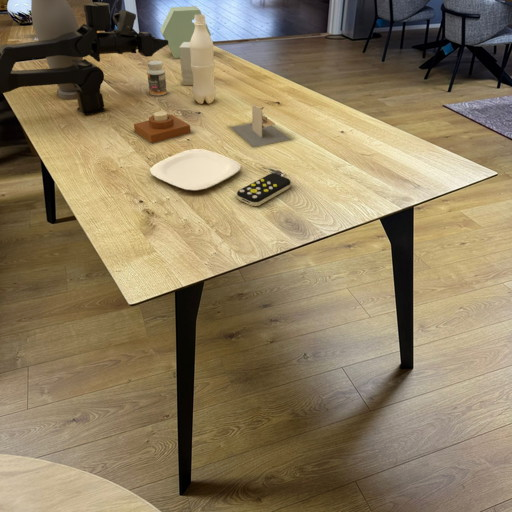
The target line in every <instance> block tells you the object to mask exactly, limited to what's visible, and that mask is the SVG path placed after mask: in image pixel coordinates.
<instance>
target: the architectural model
mask: <svg viewBox="0 0 512 512" xmlns="http://www.w3.org/2000/svg"><path fill="white" fill-rule="evenodd" d="M251 105H252V107H251V108H252V109H251V110H252V114H251V115H252V119H251V120H252V121H251V123H245V124H240V125H235V126H230V129H231V130H233V132H235V133H236V134H238V136H240V137H241V138H242V139H243V140H245V142H247V143H248V144H249V145H251V146H252V147H253V148H257V147H260V146H261V147H262V146H265V145H270V144H276V143H280V142H285V141H289V140H291V138H290V137H289V136H288V135H286V134H284V133H283V132H282V131H280V130H279V129H278V128H276V127H275V126H276V123H275V122H274V121H272V120H270V119H269V118H268V116H266V115H265V114H264V113H263V110H264V108H265V106H261V107H258V106H257V105H255V104H254V103H252V104H251Z"/></svg>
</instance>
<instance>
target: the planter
mask: <svg viewBox="0 0 512 512" xmlns="http://www.w3.org/2000/svg"><path fill="white" fill-rule="evenodd" d="M198 14H202V15H203V13H202V11H201V9H200V8H199V7H197V6H195V5H193V6H192V5H191V6H173V7H172V6H171V7H170V8H169V10H168V13H167V15H166V17H165V18H164V21H163V23H162V25H161V27H160V28H159V29H160V30H159V31H160V33H161V35H162V37H163V40H168V45H167V47H168V49H169V51H170V53H171V55H172V56H173V58H174V59H180V51H179V47H180V46H181V44H182V43H183V42H190V40H191V38H192V35H193V33H194V30H195V25H194V23H195V22H193V21H195V15H198ZM205 23H206V29H207V32H208V33H209V35H210V37H211V36H212V34H211V33H212V32H211V31H210V29H209V27H208V24H207V21H206V22H205Z"/></svg>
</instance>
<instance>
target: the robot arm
mask: <svg viewBox="0 0 512 512" xmlns="http://www.w3.org/2000/svg"><path fill="white" fill-rule="evenodd" d="M83 10H84V15H85V23H83V24H82V25H81V26H79V29H78V30H77V31H73V32H69V33H66V34H63V35H61V36H59V37H57V38H54V39H50V40H42V41H39V40H35V41H28V42H27V41H26V42H20V43H12V44H9V43H4V44H2V45H1V46H0V95H1V94H6V93H10V92H13V91H14V90H17V89H19V88H27V87H28V88H29V87H38V86H39V87H40V86H56V85H57V84H70V83H72V84H74V86H75V87H76V88H77V89H78V90H76V96H77V98H76V100H77V105H78V107H77V110H78V111H79V112H80V113H82V114H83V115H84V116H89V115H93V114H98V113H103V112H106V108H105V103H104V98H103V93H101V86H102V84H103V83H104V80H105V74H104V72H103V70H102V68H100V66H97V65H96V64H95V63H93V62H92V61H89V60H87V59H86V57H88V56H90V57H91V58H93V59H94V60H95V61H96V62H97V63H100V62H101V56H100V55H108V54H110V55H111V54H118V55H123V54H127V53H130V54H137V52H138V54H139V55H140V56H142V57H146V58H147V57H148V58H150V57H153V55H155V53H157V52H159V51H160V50H162V49H163V48H165V47H166V46H168V40H165V39H164V38H163V39H162V38H158V37H155V36H153V35H152V33H150V32H148V31H139V32H137V31H136V30H135V29H134V25H135V20H136V19H137V14H136V13H134V12H131V11H128V10H126V9H120V10H119V11H118V12H117V13H113V16H112V20H114V22H115V23H116V29H112V30H111V31H109V30H110V29H111V27H112V20H111V8H110V3H107V2H102V1H101V2H100V1H98V2H97V1H93V2H91V3H84V4H83ZM58 55H61V56H70V57H83V60H81V61H77V60H72V63H73V65H72V66H70V67H67V68H53V69H50V68H37V69H36V68H35V69H21V70H20V69H19V70H15V69H14V67H15V64H16V63H17V62H21V61H22V62H23V61H29V60H37V59H44V58H46V57H51V56H58Z"/></svg>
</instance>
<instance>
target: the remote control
mask: <svg viewBox="0 0 512 512" xmlns="http://www.w3.org/2000/svg"><path fill="white" fill-rule="evenodd" d="M291 183H292V182H291V180H290V179H289V178H287V177H285V176H283V175H280V174H278V173H268V174H266V175H265V176H263V177H261V178H259V179H257V180H255V181H254V182H252V183H250V184H249V185H246V186H244V187H242V188H240V189H238V191H237V192H236V197H237V199H238V201H240V202H243V203H244V204H247V205H249V206H251V207H258V206H261V205H262V204H264V203H267V202H268V201H270V200H271V199H273V198H275V197H276V196H278V195H280V194H282V193H283V192H285V191H287V190H289V189H290V188H291Z"/></svg>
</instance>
